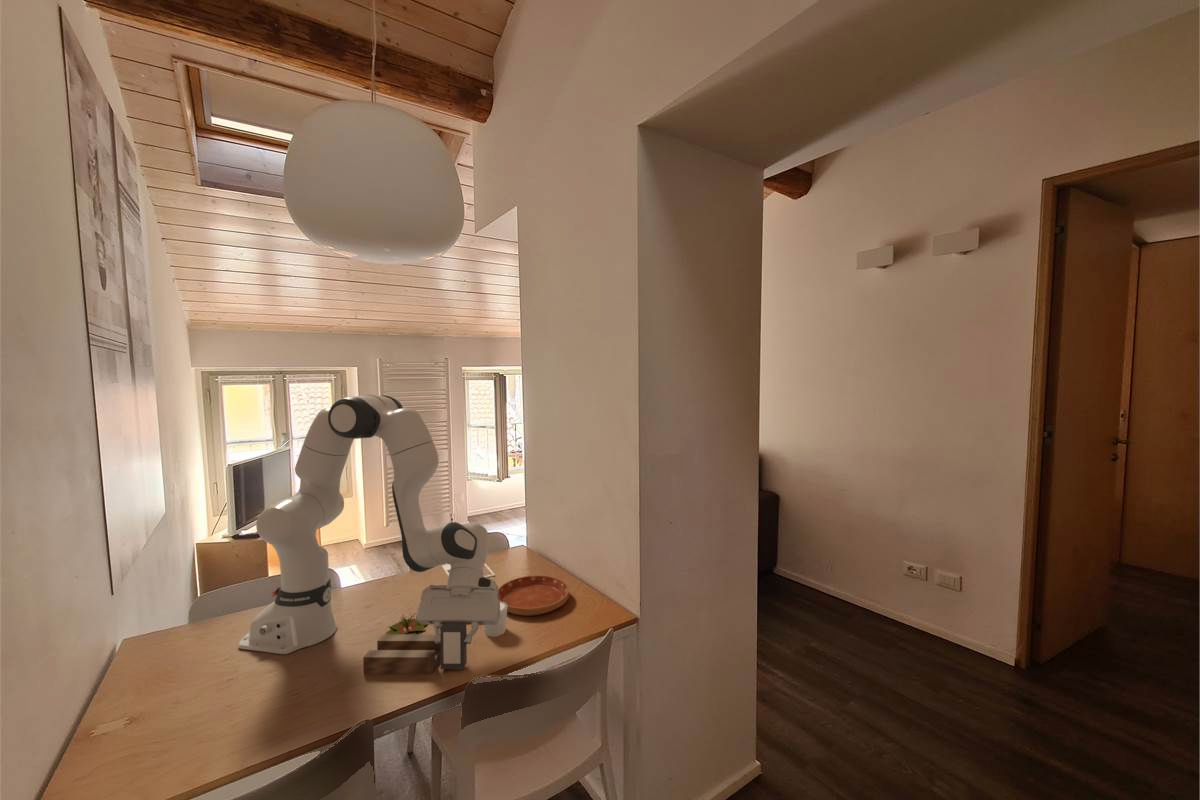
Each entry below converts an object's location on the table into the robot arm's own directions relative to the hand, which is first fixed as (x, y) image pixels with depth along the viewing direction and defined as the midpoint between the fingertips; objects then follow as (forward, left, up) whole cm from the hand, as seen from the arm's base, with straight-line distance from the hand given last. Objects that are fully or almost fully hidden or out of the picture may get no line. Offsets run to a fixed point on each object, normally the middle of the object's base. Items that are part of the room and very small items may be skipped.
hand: (452, 643), depth 113 cm
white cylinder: (+6, +18, -7) cm, 20 cm away
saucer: (+14, +36, -7) cm, 39 cm away
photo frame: (-13, +59, -7) cm, 60 cm away
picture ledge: (-13, +4, -7) cm, 15 cm away
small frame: (0, +1, -6) cm, 6 cm away
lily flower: (-18, +19, -7) cm, 27 cm away
